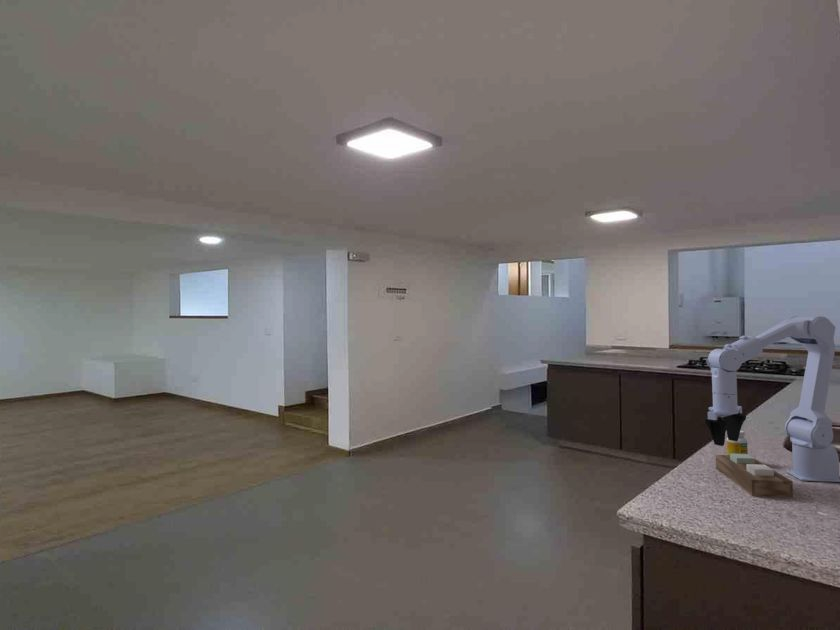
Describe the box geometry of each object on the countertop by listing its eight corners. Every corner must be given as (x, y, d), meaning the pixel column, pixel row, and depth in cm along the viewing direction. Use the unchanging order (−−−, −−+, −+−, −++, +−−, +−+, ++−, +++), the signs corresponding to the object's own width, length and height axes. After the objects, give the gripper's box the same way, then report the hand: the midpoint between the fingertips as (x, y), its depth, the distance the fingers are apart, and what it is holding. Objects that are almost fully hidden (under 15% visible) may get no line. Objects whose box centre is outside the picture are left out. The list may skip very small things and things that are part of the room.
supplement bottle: (732, 458, 151) (731, 427, 151) (751, 462, 146) (750, 431, 146) (723, 461, 148) (722, 430, 148) (743, 466, 143) (742, 433, 143)
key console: (750, 469, 140) (749, 455, 140) (793, 497, 118) (792, 481, 118) (716, 468, 142) (715, 454, 142) (752, 495, 120) (751, 479, 120)
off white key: (765, 476, 127) (764, 464, 127) (774, 481, 123) (773, 470, 123) (746, 475, 128) (746, 464, 128) (754, 481, 123) (754, 469, 124)
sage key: (747, 464, 137) (747, 453, 137) (754, 469, 132) (754, 458, 132) (730, 464, 138) (729, 453, 138) (737, 468, 133) (736, 458, 133)
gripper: (722, 388, 139) (723, 435, 139) (695, 394, 131) (697, 444, 131) (749, 391, 133) (751, 440, 133) (723, 397, 126) (724, 449, 125)
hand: (726, 442), depth 132 cm, fingers open, 7 cm apart
